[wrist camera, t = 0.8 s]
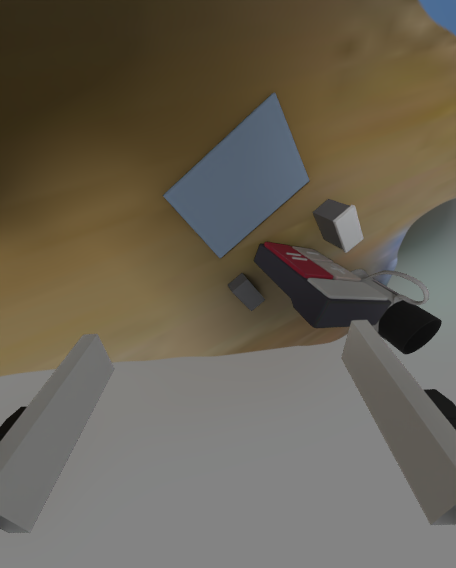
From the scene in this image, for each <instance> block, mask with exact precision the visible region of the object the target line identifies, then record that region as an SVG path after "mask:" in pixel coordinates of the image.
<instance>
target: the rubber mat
mask: <svg viewBox="0 0 456 568" xmlns="http://www.w3.org/2000/svg"><path fill="white" fill-rule="evenodd" d="M307 182H309V178H308V176H307V173H306V171H305V168H304V165H303V163H302V160H301V158H300V155H299V153H298V150H297V147H296V145H295V142H294V140H293V137H292V135H291V132H290V130H289V127H288V124H287V122H286V119H285V117H284V114H283V112H282V109H281V106H280V104H279V101H278V99H277V96H276V94H275V93H272V94H271V95H270V96H269V97H268V98H267V99H266V100H265V101H264V102H263V103H262V104H260V105H259V106H258V107H257V108H256V109H255V110H254V111H253V112H252V113H251V114H250V115H249V116H248V117H246V118H245V119H244V120H243V121H242V122H241V123H240V124H239V125H238V126H237V127H236V128H235V129H234V130H233V131H231V132H230V133H229V134H228V135H227V136H226V137H225V138H224V139H223V140H222V141H221V142H220V143H219V144H218V145H216V146H215V147H214V148H213V149H212V150H211V151H210V152H209V153H208V154H207V155H206V156H205V157H204V158H203V159H201V160H200V161H199V162H198V163H197V164H196V165H195V166H194V167H193V168H192V169H191V170H190V171H189V172H187V173H186V174H185V175H184V176H183V177H182V178H181V179H180V180H179V181H178V182H177V183H176V184H175V185H174V186H172V187H171V188H170V189H169V190H168V191H167V192H166V193H165V194H164V195H163V196H164V197H165V199H166V200H167V201H168V202H169V203H170V204H171V205H172V206H173V207H174V208H175V210H176V211H177V212H178V213H179V214H180V215H181V216H182V217H183V218H184V219H185V221H186V222H187V223H188V224H189V225H190V226H191V227H192V228H193V229H194V230H195V232H196V233H197V234H198V235H199V236H200V237H201V238H202V239H203V240H204V241H205V242H206V244H207V245H208V246H209V247H210V248H211V249H212V250H213V251H214V252H215V253H216V255H217V256H218V257H219V258H221V257H223V256H224V255H225V254H226V253H227V252H228V251H229V250H231V249H232V248H233V247H234V246H235V245H236V244H237V243H239V242H240V241H241V240H242V239H243V238H244V237H245V236H247V235H248V234H249V233H250V232H251V231H252V230H253V229H255V228H256V227H257V226H258V225H259V224H260V223H262V222H263V221H264V220H265V219H266V218H267V217H268V216H270V215H271V214H272V213H273V212H274V211H275V210H276V209H278V208H279V207H280V206H281V205H282V204H283V203H284V202H286V201H287V200H288V199H289V198H290V197H291V196H292V195H294V194H295V193H296V192H297V191H298V190H299V189H301V188H302V187H303V186H304V185H305V184H306V183H307Z"/></svg>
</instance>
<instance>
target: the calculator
mask: <svg viewBox="0 0 456 568" xmlns="http://www.w3.org/2000/svg"><path fill="white" fill-rule="evenodd" d="M254 262H255V263H256V264H257V265H258V266H259V267H260V268H261V269H262V270H263V271H264V272H265V273H266V274H267V275H268V276H269V277H270V278H271V279H272V280H273V281H274V282H275V283H276V284H277V285H278V286H279V287H280V288H281V289H282V290H283V291H284V292H285V293H286V294H287V295H288V296H289V297H290V298H291V300H292V304H293V307H294V308H295V309H296V310H297V311H298V313H299V314H300V315H301V316H302V317H303V318H304V319H305V320H306V321H307V322H308V323H309V324H310V325H311V326H312V327H314V328H329V327H350V324H351V321H353V320H368V322H369V323H370V324H371V325H376V324H377V323H378V321H379V320H380V319H381V317H382V316H383V315H384V313H385V312H386V310H387V309H388V308H389V306H390V305H391V301H389V300H388V297H387V296H385V295H384V294H382V293H380V292H379V291H377V290H376V289H374V288H372V287H371V286H369V285H368V284H366V283H364V282H360V280H361V278H359V277H358V276H356V275H354V274H353V273H351V272H350V271H348V270H346V269H345V268H343V267H341V266H340V265H338V264H336V263H333V261H332V260H330V259H329V258H327V257H325V256H324V255H322V254H320V253H319V252H317V251H316V250H314V249H308V248H302V247H296V246H293V247H291V246H289V245H283V244H277V243H271V242H265V244H260V245H259V248H258V251H257V253H256V256H255V259H254Z"/></svg>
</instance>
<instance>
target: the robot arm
mask: <svg viewBox="0 0 456 568" xmlns="http://www.w3.org/2000/svg"><path fill="white" fill-rule="evenodd" d="M342 360H343V362H344V364H345V366H346V368H347V370H348V372H349V373H350V375H351V377H352V379H353V381H354V383H355V385H356V386H357V388H358V390H359V392H360V394H361V396H362V398H363V400H364V401H365V403H366V405H367V407H368V409H369V411H370V413H371V415H372V416H373V418H374V420H375V422H376V424H377V426H378V427H379V429H380V431H381V433H382V435H383V437H384V439H385V441H386V443H387V444H388V446H389V448H390V450H391V452H392V454H393V456H394V457H395V459H396V461H397V463H398V465H399V467H400V468H401V471H402V472H403V474H404V476H405V478H406V480H407V482H408V483H409V485H410V487H411V489H412V491H413V493H414V495H415V497H416V499H417V500H418V502H419V504H420V506H421V508H422V510H423V511H424V513H425V515H426V517H427V519H428V521H429V523H430V524H431V525H450V524H456V406H455V405H454V403H453V402H452V401H450V400H449V399H447V398H446V397H445V396H444V395H442V394H441V393H440V392H438V391H437V390H435V389H432V390H431V389H430V390H423V389H422V388H421V386H420V385H419V384H418V383H417V382H416V380H415V379H414V378H413V377H412V375H411V374H410V373H409V371H408V370H407V369H406V368H405V366H404V365H403V364H402V363H401V362H400V360H399V359H398V358H397V356H396V355H395V354H394V353H393V352H392V350H391V349H390V348H389V347H388V345H387V344H386V343H385V342H384V340H383V339H382V338H381V337H380V335H379V334H378V333H377V332H376V330H375V329H374V328H373V327H372V325H371V324H370V323H369V322H368V320H353V321H351V324H350V328H349V332H348V335H347V339H346V343H345V347H344V350H343V354H342ZM113 371H114V367H113V365H112V363H111V361H110V359H109V357H108V355H107V352H106V350H105V348H104V346H103V344H102V342H101V340H100V338H99V336H98V334H87V335H83V336H82V337H81V338H80V339H79V341H78V342H77V343H76V345H75V346H74V347H73V348H72V350H71V351H70V352H69V354H68V355H67V356H66V358H65V359H64V360H63V361H62V363H61V364H60V365H59V367H58V368H57V369H56V370H55V372H54V373H53V375H52V376H51V377H50V378H49V379H48V381H47V382H46V383H45V385H44V386H43V387H42V389H41V390H40V391H39V392H38V394H37V395H36V396H35V398H34V399H33V400H32V402H31V403H30V404H29V405H28V407H20V408H19V409H18V410H17V411H16V412H15V413H13V414H12V415H11V416H10V417H9V418H8V419H6V421H5V422H4V423H3V424H2V426H1V427H0V529H2V530H4V531H6V532H8V533H25V532H26V533H29V532H31V530H32V528H33V526H34V524H35V522H36V520H37V518H38V516H39V514H40V513H41V511H42V509H43V506H44V505H45V503H46V501H47V499H48V497H49V495H50V493H51V491H52V489H53V487H54V485H55V483H56V481H57V479H58V478H59V475H60V474H61V472H62V470H63V468H64V466H65V464H66V462H67V460H68V458H69V456H70V454H71V452H72V450H73V448H74V446H75V444H76V442H77V441H78V439H79V437H80V435H81V433H82V431H83V429H84V427H85V425H86V423H87V421H88V419H89V417H90V415H91V413H92V412H93V410H94V407H95V406H96V403H97V402H98V400H99V398H100V396H101V394H102V392H103V390H104V388H105V386H106V384H107V382H108V380H109V378H110V377H111V375H112V373H113Z"/></svg>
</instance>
